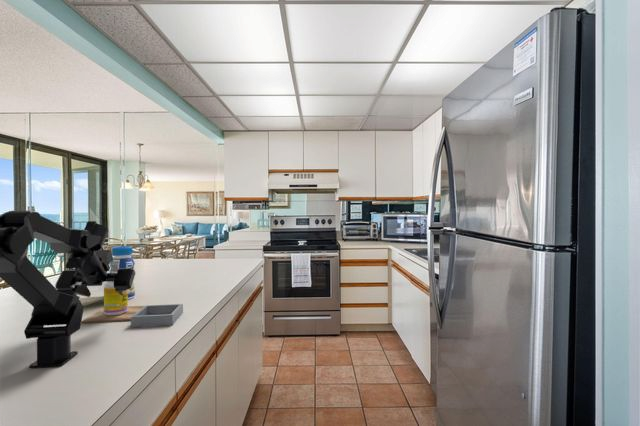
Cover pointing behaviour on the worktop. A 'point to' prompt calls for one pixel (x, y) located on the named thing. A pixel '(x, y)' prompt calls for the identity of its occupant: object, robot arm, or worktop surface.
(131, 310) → the tan cardboard sheet
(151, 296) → the worktop surface
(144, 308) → the bin
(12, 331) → the worktop surface
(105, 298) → the supplement bottle
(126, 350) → the worktop surface
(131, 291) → the beverage bottle
